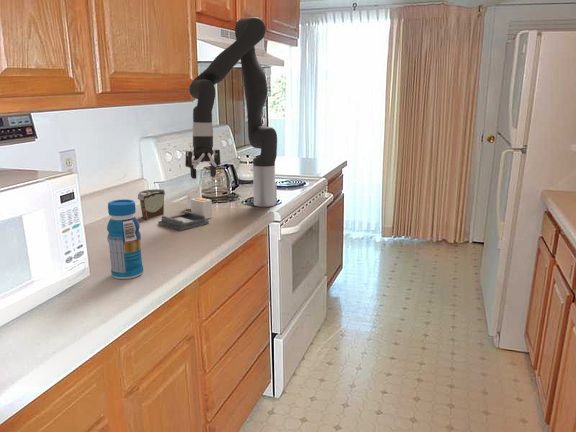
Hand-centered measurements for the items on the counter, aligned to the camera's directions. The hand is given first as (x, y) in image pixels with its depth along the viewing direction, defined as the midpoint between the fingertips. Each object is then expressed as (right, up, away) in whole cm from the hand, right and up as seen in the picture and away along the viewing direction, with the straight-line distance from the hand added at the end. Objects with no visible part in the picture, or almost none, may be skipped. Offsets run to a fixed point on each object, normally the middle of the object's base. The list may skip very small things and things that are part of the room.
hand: (203, 177), depth 186 cm
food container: (-22, -15, +4) cm, 27 cm away
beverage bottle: (-11, -31, -55) cm, 64 cm away
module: (-1, -15, +4) cm, 16 cm away
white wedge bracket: (-6, -12, +17) cm, 22 cm away
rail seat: (-6, -18, -6) cm, 20 cm away
